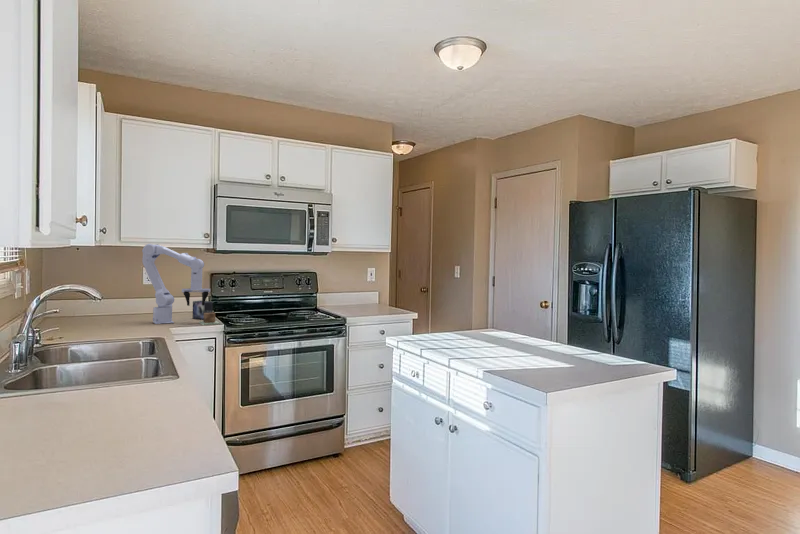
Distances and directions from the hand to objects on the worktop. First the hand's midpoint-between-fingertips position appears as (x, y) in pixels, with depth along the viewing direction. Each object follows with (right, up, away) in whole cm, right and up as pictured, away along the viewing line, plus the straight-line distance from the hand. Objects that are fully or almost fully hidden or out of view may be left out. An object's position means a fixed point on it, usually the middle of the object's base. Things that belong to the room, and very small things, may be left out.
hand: (195, 305), depth 269 cm
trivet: (+7, -10, +1) cm, 12 cm away
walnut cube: (+7, -9, +1) cm, 12 cm away
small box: (-5, -10, +20) cm, 23 cm away
